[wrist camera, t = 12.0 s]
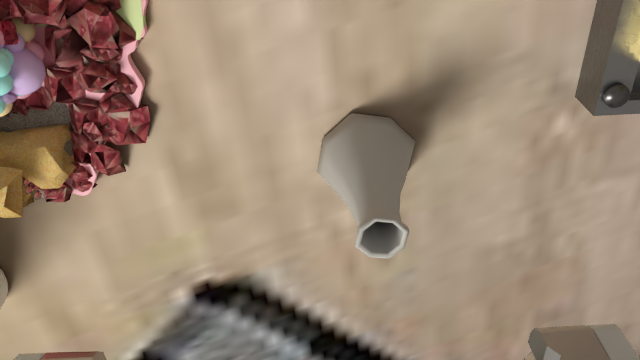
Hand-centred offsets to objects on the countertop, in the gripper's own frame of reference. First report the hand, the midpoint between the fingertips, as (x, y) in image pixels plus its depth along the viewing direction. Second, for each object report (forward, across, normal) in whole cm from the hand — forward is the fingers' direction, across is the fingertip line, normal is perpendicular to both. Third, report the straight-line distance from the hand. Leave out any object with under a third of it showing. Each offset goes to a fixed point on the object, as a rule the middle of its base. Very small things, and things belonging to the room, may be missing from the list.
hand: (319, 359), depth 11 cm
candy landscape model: (+30, +22, +3) cm, 37 cm away
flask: (+29, -4, +13) cm, 32 cm away
